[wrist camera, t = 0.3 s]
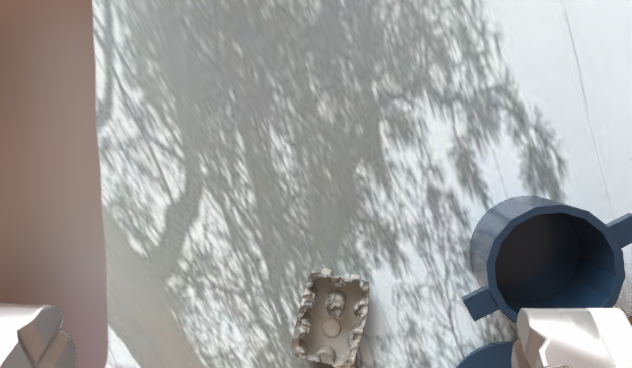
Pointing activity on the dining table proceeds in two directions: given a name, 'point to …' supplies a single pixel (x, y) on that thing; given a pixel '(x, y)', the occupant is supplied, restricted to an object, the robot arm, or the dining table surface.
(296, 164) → the dining table surface
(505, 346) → the lid
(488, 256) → the pot
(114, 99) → the dining table surface
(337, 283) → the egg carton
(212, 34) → the dining table surface
